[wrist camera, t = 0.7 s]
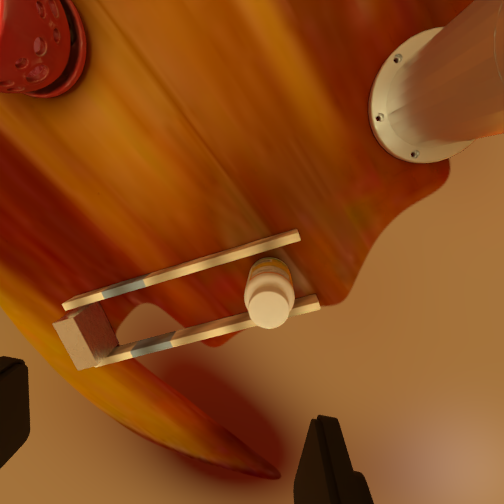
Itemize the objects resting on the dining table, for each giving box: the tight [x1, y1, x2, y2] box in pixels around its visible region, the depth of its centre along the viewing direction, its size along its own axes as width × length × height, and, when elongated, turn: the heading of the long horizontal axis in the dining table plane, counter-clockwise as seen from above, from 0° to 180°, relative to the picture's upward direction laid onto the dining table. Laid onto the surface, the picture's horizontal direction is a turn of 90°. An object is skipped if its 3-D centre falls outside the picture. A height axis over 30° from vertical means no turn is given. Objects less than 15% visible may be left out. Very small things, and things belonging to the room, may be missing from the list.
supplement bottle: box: [244, 257, 295, 329], centre depth 31 cm, size 5×5×10 cm
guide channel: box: [53, 229, 321, 370], centre depth 35 cm, size 32×10×5 cm, turn 108°
